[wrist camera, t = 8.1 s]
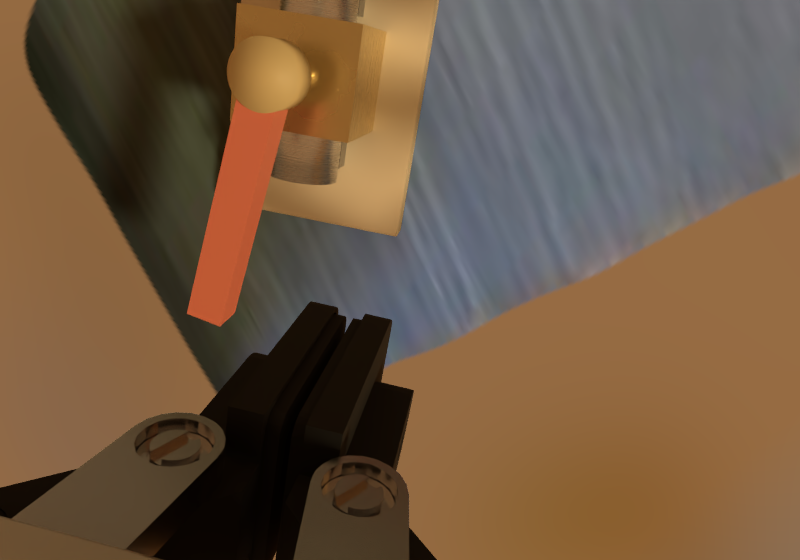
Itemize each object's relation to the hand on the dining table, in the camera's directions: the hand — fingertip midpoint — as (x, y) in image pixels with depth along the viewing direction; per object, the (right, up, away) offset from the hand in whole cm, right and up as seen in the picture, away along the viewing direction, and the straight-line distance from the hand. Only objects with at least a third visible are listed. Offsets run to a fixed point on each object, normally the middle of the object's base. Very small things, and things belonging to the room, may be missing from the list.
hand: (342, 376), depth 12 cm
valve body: (-3, +13, +20) cm, 24 cm away
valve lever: (-5, +6, +14) cm, 16 cm away
